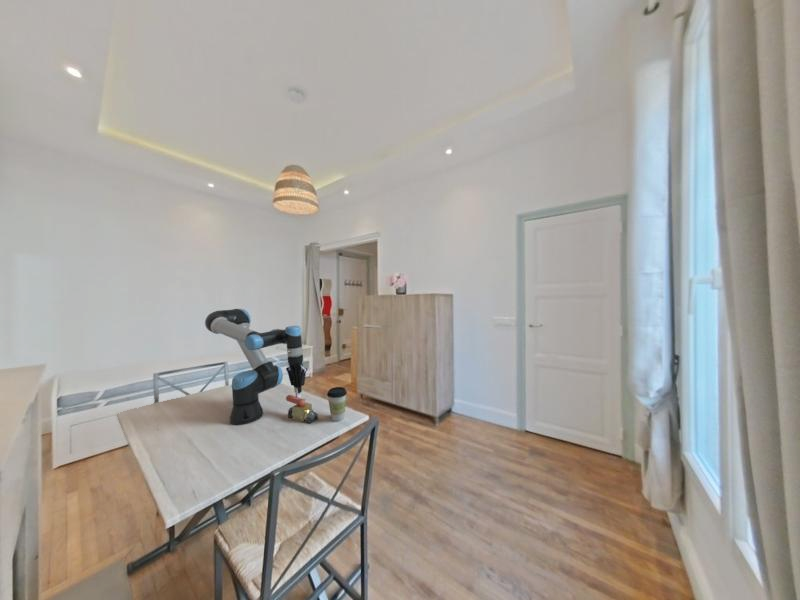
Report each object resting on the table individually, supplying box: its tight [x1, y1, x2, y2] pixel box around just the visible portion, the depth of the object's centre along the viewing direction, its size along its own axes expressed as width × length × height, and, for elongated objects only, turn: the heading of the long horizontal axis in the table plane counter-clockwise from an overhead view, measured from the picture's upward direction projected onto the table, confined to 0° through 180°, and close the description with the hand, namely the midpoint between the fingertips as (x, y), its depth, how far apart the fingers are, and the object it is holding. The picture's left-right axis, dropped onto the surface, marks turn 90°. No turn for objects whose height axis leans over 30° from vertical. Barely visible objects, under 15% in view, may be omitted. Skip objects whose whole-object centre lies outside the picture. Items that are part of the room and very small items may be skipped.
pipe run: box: [287, 402, 319, 425], centre depth 140 cm, size 16×6×8 cm, turn 65°
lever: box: [285, 394, 307, 406], centre depth 143 cm, size 14×3×3 cm, turn 58°
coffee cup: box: [326, 386, 348, 423], centre depth 139 cm, size 10×10×15 cm
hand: (298, 398), depth 145 cm, fingers closed
